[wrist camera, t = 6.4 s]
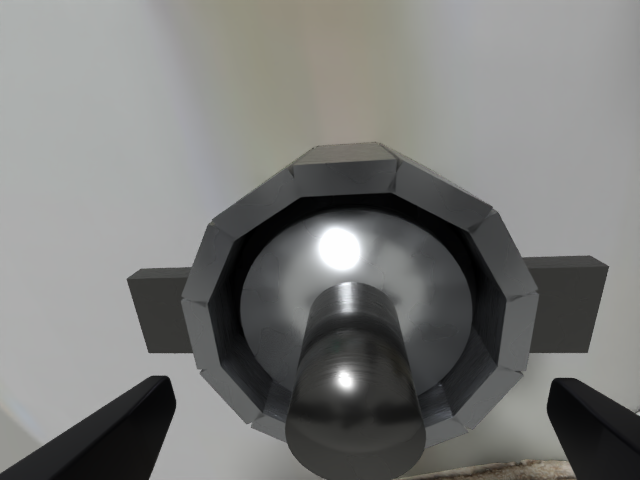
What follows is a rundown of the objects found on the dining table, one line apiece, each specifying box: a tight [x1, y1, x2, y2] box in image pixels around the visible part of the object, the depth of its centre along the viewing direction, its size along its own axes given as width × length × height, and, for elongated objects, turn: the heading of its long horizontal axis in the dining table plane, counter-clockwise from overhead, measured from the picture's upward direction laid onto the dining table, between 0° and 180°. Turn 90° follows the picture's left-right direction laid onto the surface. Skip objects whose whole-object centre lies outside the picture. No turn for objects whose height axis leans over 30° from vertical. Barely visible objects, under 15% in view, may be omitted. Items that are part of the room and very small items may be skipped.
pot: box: [127, 142, 609, 449], centre depth 13 cm, size 15×10×6 cm
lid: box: [240, 203, 472, 480], centre depth 9 cm, size 7×7×5 cm
